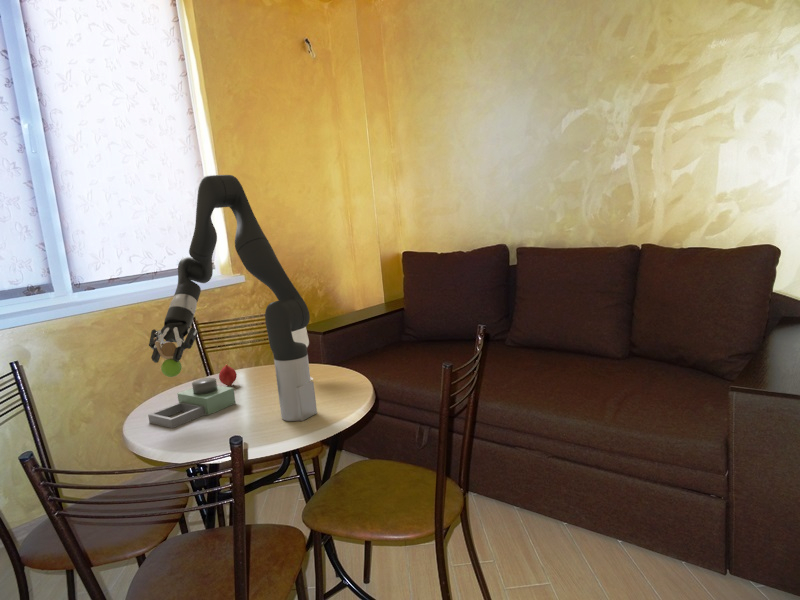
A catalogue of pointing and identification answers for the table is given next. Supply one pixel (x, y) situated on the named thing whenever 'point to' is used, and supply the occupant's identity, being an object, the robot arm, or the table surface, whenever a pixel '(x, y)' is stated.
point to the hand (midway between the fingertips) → (165, 360)
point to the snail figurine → (168, 359)
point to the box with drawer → (195, 403)
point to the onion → (227, 375)
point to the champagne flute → (301, 337)
